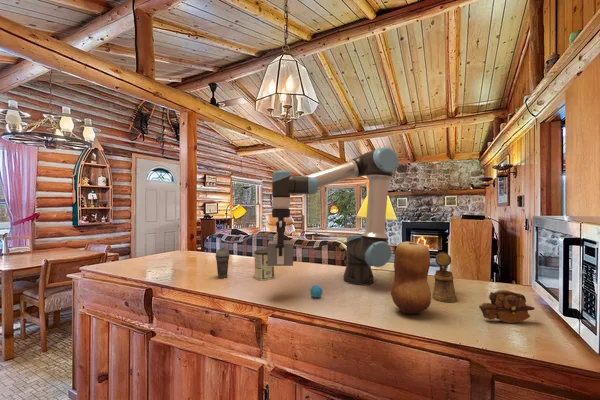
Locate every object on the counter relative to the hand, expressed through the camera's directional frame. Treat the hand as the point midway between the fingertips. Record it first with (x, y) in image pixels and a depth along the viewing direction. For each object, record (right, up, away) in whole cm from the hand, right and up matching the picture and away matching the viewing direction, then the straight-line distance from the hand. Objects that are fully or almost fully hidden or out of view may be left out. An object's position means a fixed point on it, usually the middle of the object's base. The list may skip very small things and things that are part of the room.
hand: (280, 261), depth 118 cm
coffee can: (-11, -16, +32) cm, 37 cm away
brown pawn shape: (+68, -15, 0) cm, 70 cm away
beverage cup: (-33, -16, +32) cm, 48 cm away
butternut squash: (+48, -15, -16) cm, 53 cm away
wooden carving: (+76, -15, -25) cm, 81 cm away
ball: (+15, -13, 0) cm, 19 cm away
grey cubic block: (0, -1, 0) cm, 1 cm away
